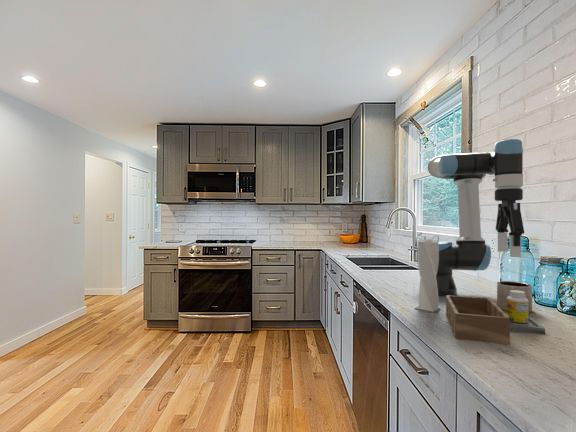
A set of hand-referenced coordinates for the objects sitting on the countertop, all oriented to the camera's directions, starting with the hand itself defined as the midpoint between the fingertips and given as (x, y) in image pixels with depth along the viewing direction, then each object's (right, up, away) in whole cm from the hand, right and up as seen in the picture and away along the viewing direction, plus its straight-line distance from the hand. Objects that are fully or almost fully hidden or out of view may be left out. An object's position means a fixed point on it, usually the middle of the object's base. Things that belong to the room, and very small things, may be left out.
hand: (508, 254), depth 105 cm
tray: (+1, -22, -3) cm, 23 cm away
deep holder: (-13, -22, -4) cm, 26 cm away
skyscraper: (-19, -23, +16) cm, 34 cm away
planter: (+13, -23, +16) cm, 31 cm away
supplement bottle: (+1, -22, -3) cm, 22 cm away
